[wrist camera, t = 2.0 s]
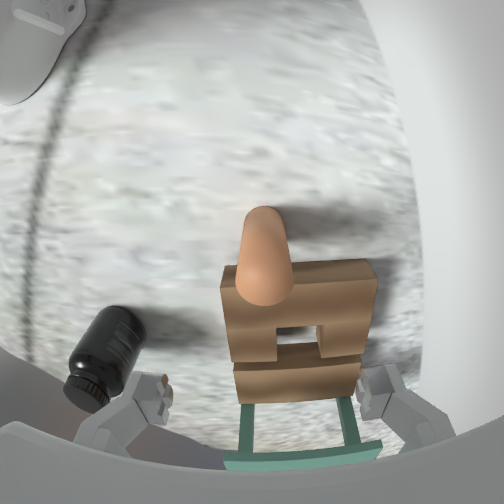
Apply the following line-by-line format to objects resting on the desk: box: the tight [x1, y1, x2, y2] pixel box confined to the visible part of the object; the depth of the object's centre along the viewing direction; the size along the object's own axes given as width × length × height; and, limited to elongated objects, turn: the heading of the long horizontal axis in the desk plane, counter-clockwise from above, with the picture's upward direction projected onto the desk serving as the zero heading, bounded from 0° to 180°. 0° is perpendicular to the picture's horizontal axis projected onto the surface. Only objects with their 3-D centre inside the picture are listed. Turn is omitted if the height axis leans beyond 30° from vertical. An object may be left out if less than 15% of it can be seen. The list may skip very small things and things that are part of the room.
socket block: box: [220, 259, 378, 404], centre depth 31 cm, size 17×14×4 cm
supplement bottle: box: [63, 307, 146, 414], centre depth 28 cm, size 7×7×12 cm
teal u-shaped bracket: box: [223, 396, 383, 471], centre depth 29 cm, size 6×15×14 cm, turn 94°
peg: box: [235, 206, 294, 306], centre depth 23 cm, size 4×4×10 cm
